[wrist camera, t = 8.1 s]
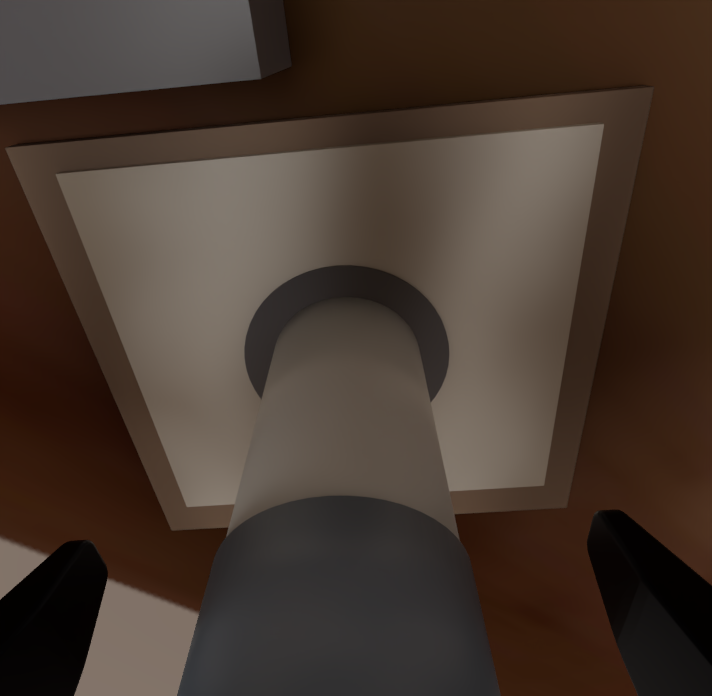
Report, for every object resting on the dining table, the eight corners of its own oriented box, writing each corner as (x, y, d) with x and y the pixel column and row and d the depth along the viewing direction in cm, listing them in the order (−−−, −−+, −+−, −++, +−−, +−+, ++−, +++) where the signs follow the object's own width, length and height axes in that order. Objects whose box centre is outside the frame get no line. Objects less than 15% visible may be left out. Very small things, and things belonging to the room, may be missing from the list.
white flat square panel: (644, 85, 11) (675, 90, 10) (562, 498, 17) (575, 526, 16) (15, 144, 11) (-19, 155, 10) (174, 521, 18) (164, 549, 17)
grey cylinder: (422, 287, 12) (533, 687, 5) (424, 416, 15) (502, 831, 7) (256, 300, 13) (105, 706, 5) (283, 425, 15) (209, 840, 7)
